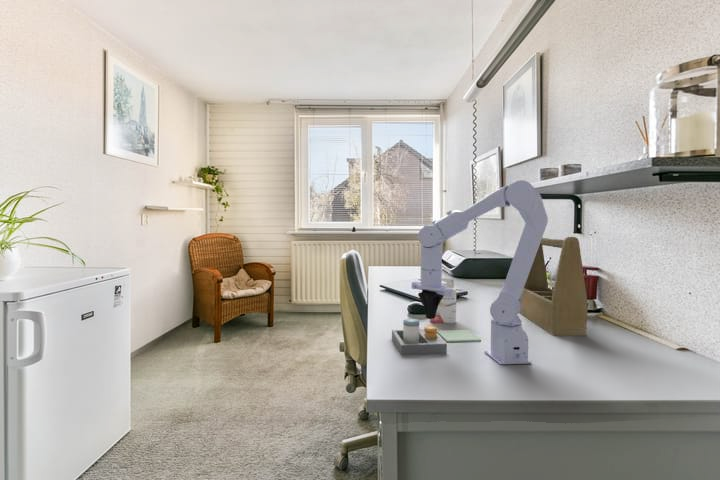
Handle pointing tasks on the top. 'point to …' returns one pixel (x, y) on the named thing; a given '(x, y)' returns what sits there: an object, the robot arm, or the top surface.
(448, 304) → the ink cartridge box
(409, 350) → the dock
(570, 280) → the caddy
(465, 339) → the mat
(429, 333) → the plunger
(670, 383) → the top surface
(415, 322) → the cylinder
